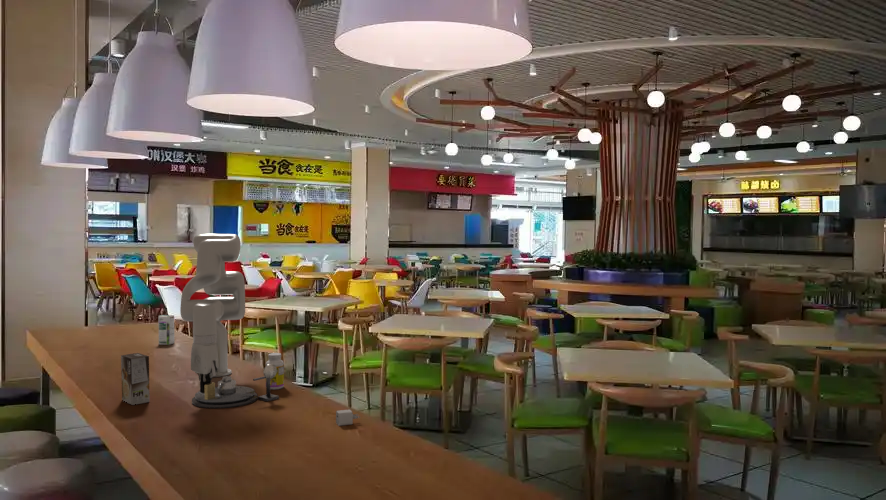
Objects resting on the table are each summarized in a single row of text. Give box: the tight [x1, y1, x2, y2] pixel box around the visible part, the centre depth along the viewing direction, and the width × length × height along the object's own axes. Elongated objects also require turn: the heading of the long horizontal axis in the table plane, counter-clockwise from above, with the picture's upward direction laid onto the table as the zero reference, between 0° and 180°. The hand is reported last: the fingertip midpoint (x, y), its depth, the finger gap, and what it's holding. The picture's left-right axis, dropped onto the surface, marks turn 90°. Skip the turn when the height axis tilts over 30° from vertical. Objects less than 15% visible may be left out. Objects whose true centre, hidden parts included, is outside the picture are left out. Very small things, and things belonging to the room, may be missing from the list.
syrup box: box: [157, 314, 175, 346], centre depth 347 cm, size 6×6×14 cm
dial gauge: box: [252, 364, 280, 403], centre depth 240 cm, size 5×9×12 cm, turn 143°
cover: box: [217, 375, 237, 395], centre depth 241 cm, size 6×6×6 cm
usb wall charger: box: [335, 409, 361, 427], centre depth 214 cm, size 4×7×4 cm, turn 112°
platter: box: [194, 381, 256, 404], centre depth 240 cm, size 20×20×6 cm
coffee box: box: [120, 352, 151, 406], centre depth 238 cm, size 9×6×16 cm
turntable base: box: [191, 392, 259, 409], centre depth 241 cm, size 22×22×1 cm
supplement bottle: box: [265, 352, 285, 391], centre depth 258 cm, size 7×7×13 cm
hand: (205, 391), depth 236 cm, fingers closed
